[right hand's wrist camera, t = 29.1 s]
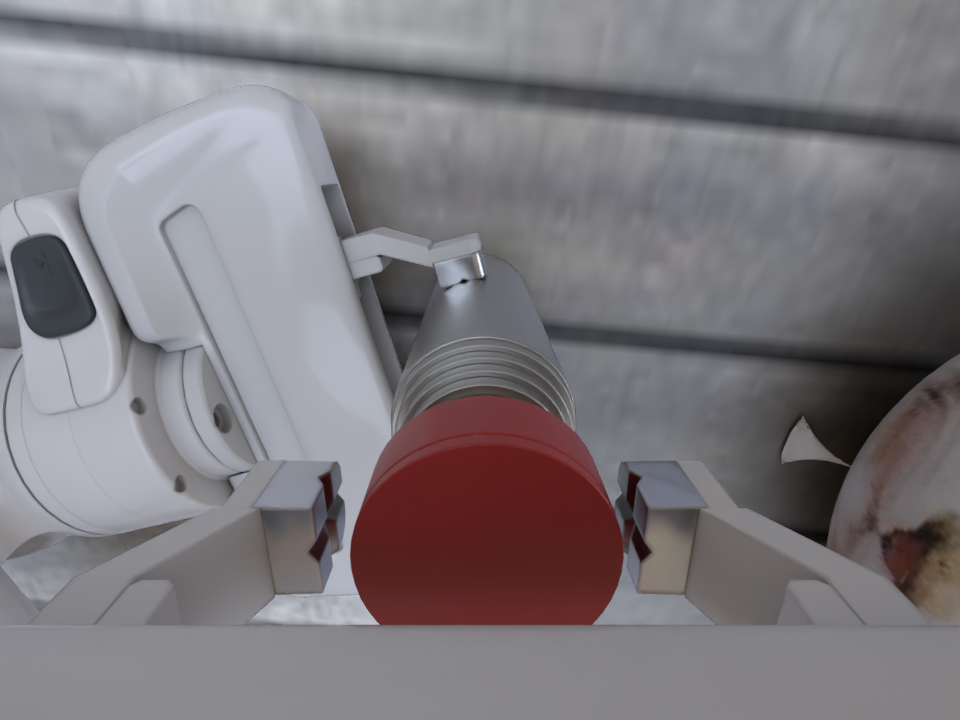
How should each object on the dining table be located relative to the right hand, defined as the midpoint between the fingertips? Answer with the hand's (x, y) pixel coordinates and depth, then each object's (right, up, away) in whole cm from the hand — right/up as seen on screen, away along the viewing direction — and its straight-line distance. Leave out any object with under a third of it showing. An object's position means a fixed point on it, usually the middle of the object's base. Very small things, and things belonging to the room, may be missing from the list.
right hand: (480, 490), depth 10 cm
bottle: (0, +5, +15) cm, 16 cm away
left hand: (+1, +4, +10) cm, 11 cm away
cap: (0, -1, -2) cm, 2 cm away
